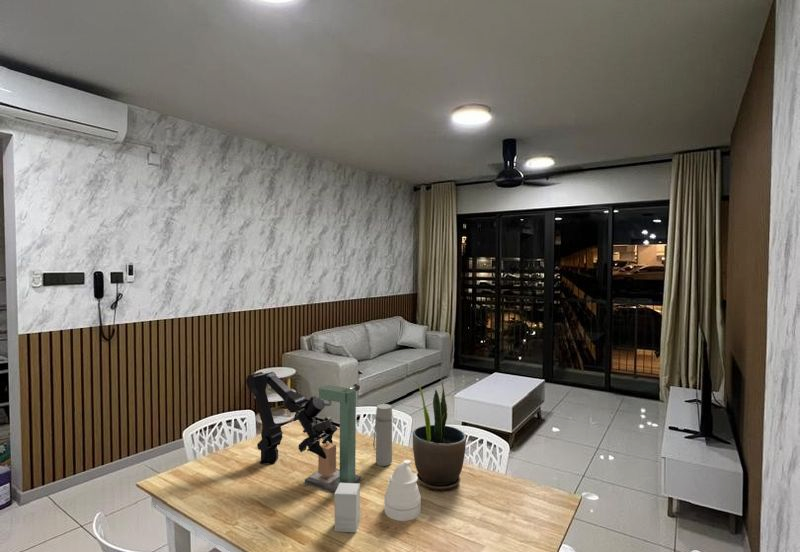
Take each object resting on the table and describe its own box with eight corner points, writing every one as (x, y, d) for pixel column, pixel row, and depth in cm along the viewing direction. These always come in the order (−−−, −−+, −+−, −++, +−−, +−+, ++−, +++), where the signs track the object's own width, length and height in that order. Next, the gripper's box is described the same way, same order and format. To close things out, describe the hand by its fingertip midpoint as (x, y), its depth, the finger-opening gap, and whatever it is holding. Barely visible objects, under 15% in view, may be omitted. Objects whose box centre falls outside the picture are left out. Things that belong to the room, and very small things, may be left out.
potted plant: (451, 465, 184) (452, 373, 183) (475, 490, 163) (476, 387, 163) (405, 472, 178) (406, 377, 177) (423, 499, 157) (424, 392, 156)
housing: (318, 473, 170) (318, 442, 170) (326, 468, 174) (326, 438, 174) (328, 476, 168) (328, 445, 167) (335, 471, 172) (336, 440, 172)
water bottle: (395, 461, 187) (396, 405, 187) (385, 468, 180) (386, 410, 180) (378, 456, 192) (379, 401, 192) (368, 463, 185) (368, 406, 185)
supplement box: (360, 519, 144) (360, 483, 144) (356, 533, 136) (356, 494, 136) (339, 518, 145) (339, 481, 144) (333, 531, 137) (334, 493, 137)
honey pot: (428, 509, 150) (428, 459, 150) (403, 525, 141) (404, 472, 140) (401, 496, 159) (402, 448, 159) (376, 510, 150) (377, 459, 149)
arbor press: (304, 482, 168) (305, 388, 167) (335, 463, 185) (335, 377, 185) (341, 494, 159) (342, 395, 159) (369, 473, 177) (370, 383, 176)
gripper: (304, 419, 164) (326, 453, 159) (334, 405, 181) (355, 436, 175) (288, 435, 168) (310, 469, 163) (319, 420, 185) (339, 451, 179)
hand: (329, 455), depth 170 cm, fingers closed on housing, 5 cm apart
